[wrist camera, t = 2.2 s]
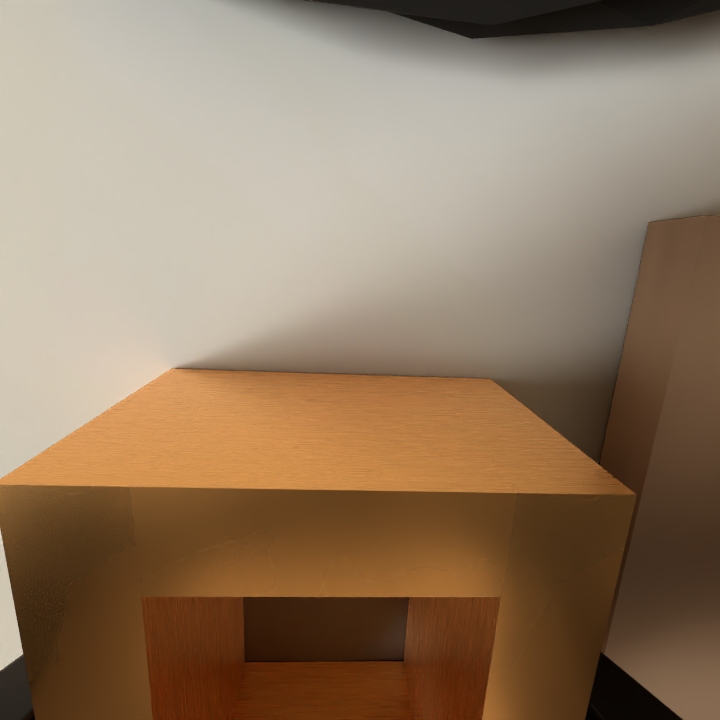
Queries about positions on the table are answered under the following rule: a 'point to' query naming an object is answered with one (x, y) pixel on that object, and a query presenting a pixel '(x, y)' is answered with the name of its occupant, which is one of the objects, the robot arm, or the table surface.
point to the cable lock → (535, 14)
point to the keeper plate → (670, 471)
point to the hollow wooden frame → (312, 550)
